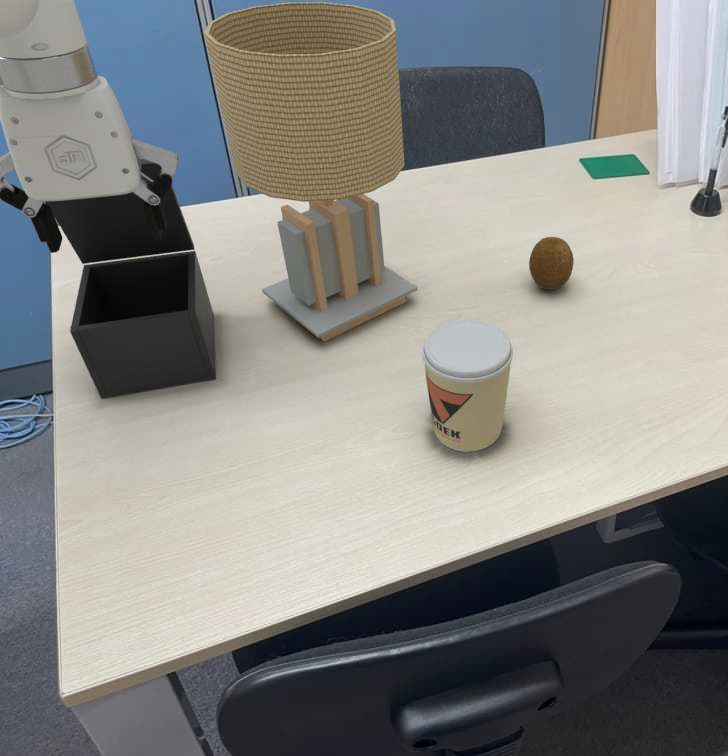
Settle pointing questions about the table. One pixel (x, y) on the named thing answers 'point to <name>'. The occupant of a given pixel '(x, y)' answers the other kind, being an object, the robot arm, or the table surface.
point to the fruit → (551, 263)
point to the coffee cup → (467, 382)
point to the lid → (121, 225)
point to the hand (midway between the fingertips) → (108, 240)
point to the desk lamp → (317, 147)
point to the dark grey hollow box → (145, 324)
